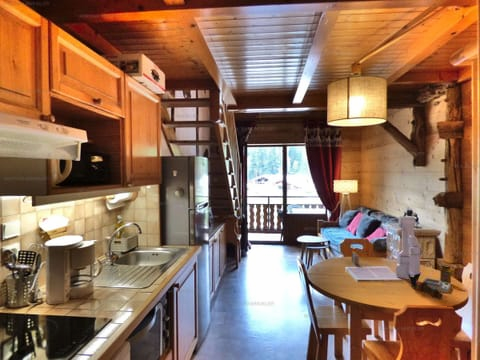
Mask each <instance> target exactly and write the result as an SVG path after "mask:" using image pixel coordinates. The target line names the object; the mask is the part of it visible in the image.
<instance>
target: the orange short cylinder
mask: <svg viewBox="0 0 480 360" xmlns="http://www.w3.org/2000/svg"><path fill="white" fill-rule="evenodd" d="M410 288H412V289H418V288H419V279H417V282H416V286H412V285H411V284H410Z"/></svg>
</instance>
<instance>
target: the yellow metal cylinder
mask: <svg viewBox="0 0 480 360" xmlns="http://www.w3.org/2000/svg"><path fill="white" fill-rule="evenodd" d="M439 275H440V277H439V279H440V281H442V282H448V283H449V284H451V283H452V282H451V280H452V270H451V266H450V265H448V264H441V266H440V273H439ZM451 285H452V284H451Z"/></svg>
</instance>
